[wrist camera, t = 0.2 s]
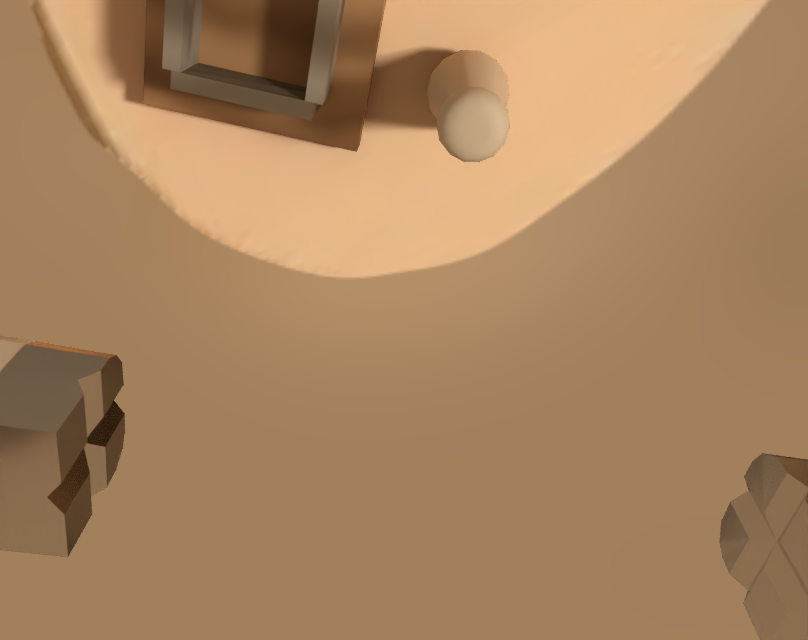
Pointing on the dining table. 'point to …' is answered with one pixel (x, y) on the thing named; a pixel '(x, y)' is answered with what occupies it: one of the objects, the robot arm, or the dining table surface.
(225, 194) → the dining table surface
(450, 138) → the beige round peg
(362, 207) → the dining table surface
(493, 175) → the dining table surface
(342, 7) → the walnut socket board
